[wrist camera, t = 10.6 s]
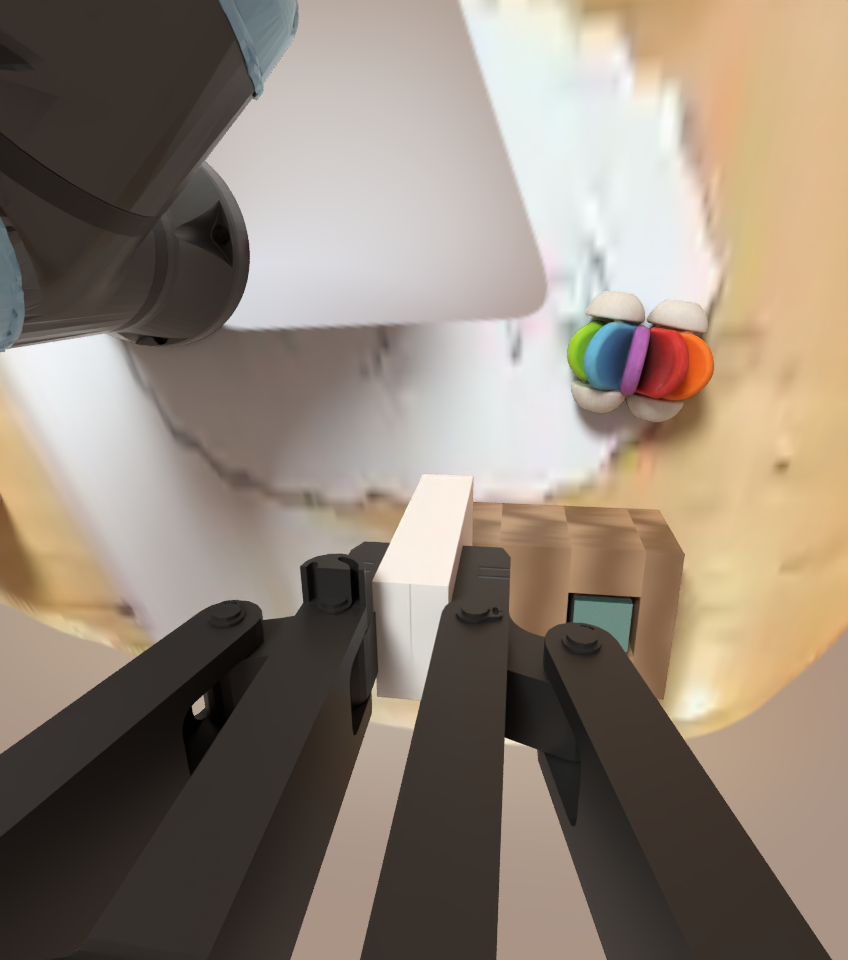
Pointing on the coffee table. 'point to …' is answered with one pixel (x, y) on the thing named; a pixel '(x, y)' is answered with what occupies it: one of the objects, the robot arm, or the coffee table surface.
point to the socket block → (590, 570)
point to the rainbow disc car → (640, 356)
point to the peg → (602, 613)
